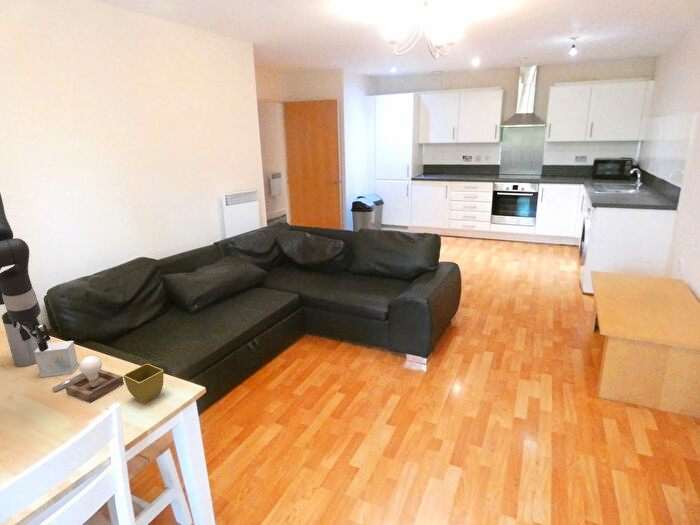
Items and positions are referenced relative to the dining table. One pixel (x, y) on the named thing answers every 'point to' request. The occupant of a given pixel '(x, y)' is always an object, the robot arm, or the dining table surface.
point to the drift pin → (67, 382)
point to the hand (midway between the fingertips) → (35, 344)
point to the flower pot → (144, 382)
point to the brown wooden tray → (91, 394)
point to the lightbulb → (91, 369)
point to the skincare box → (57, 359)
